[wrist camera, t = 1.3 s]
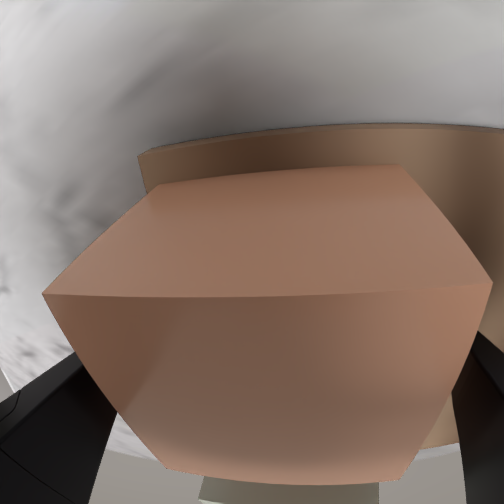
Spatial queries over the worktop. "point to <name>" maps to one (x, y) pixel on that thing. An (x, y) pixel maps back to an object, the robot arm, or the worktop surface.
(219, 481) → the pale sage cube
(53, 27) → the worktop surface
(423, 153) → the walnut board
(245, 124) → the worktop surface
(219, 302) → the salmon foam cube
